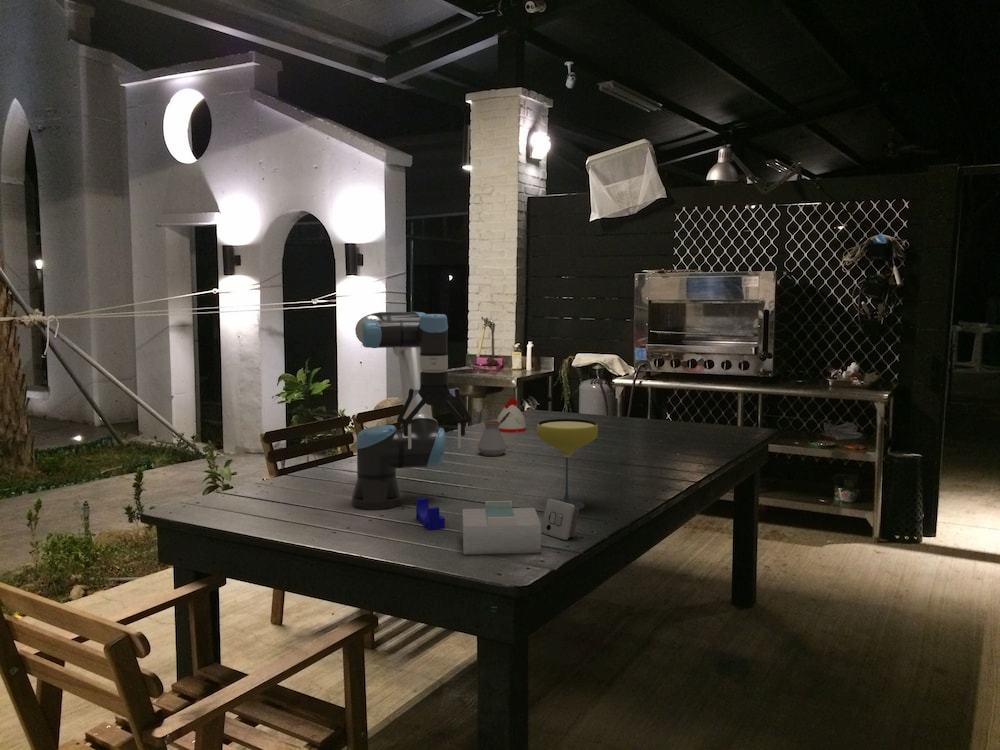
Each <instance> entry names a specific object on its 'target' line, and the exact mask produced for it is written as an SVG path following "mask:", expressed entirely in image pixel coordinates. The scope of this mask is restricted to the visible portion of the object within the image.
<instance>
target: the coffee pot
mask: <svg viewBox="0 0 1000 750" xmlns="http://www.w3.org/2000/svg"><path fill="white" fill-rule="evenodd" d="M509 414H510V412H508V413H507V414H506V416H504V417H503V418H502V420H501V421H500V422H498V421H497V420H488V421H484V422H483V424H484V426H485V428H484V430H483V433H482V434H481V437H480V440H479V443H478V445H477V449H478V451H479V453H481V454H482V456H486V457H499V456H502V454H503V453H505V452H506V449H507V444H506V442H505V440H504V437H503V435H502V432H500V430H499V428H498V427H499V426H500V424H502V423H503V422H504V421H505V420H506V418H507V417H508V416H509ZM511 414H512V413H511Z"/></svg>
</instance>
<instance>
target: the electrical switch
mask: <svg viewBox="0 0 1000 750" xmlns="http://www.w3.org/2000/svg"><path fill="white" fill-rule="evenodd" d="M579 512H580V509H578V508H575V507H574V505H572V504H568V503H565V502H561V500H557V499H553V498H548V499H547V501H546V505H545V508H544V513H543V514H544V515H543V520H542V524H541V534H544V535H547V536H551V537H554V538H557V539H560V540H564V541H568V540H569V538H571V537H573V538H574V536H575V531H576V526H577V521H578V517H579Z"/></svg>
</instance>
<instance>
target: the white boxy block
mask: <svg viewBox="0 0 1000 750" xmlns="http://www.w3.org/2000/svg"><path fill="white" fill-rule="evenodd" d="M541 528H542V524H541V522H540V519H539V516H538V514H537V510H536V509H535V507H513V501H512V500H491V501H490V500H489V501H488V500H487V501H486V500H485V507H484V508H462V548H463V549H462V551H463V553H462V554H463V555H497V554H498V555H501V554H502V555H505V554H509V555H511V554H541V553H542V532H541Z"/></svg>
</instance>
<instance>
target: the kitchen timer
mask: <svg viewBox="0 0 1000 750" xmlns="http://www.w3.org/2000/svg"><path fill="white" fill-rule="evenodd" d="M518 403H519V400H517V398H516V397H514V398H513V397H511V398H508V400H506V403H504V408H503V409H502V410H501V411H500V413H499V414H498V415H497V420H496V421H498V422H500V421H501V420H502V418H503V417H504V416H506V414H507V413H508V412H510V414H509V416H508V417H507V418H506V420H505V421H504V422H503V423H502V424H500V426H499V427H498V428H499V430H500V432H501V433H508V434H510V433H515V434H516V433H523V432H526V431H527V424H526V419H525V416H524V415H523V413H522V411H521V410H520V409H519V408H518V406H517V405H518ZM511 413H512V414H511Z"/></svg>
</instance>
